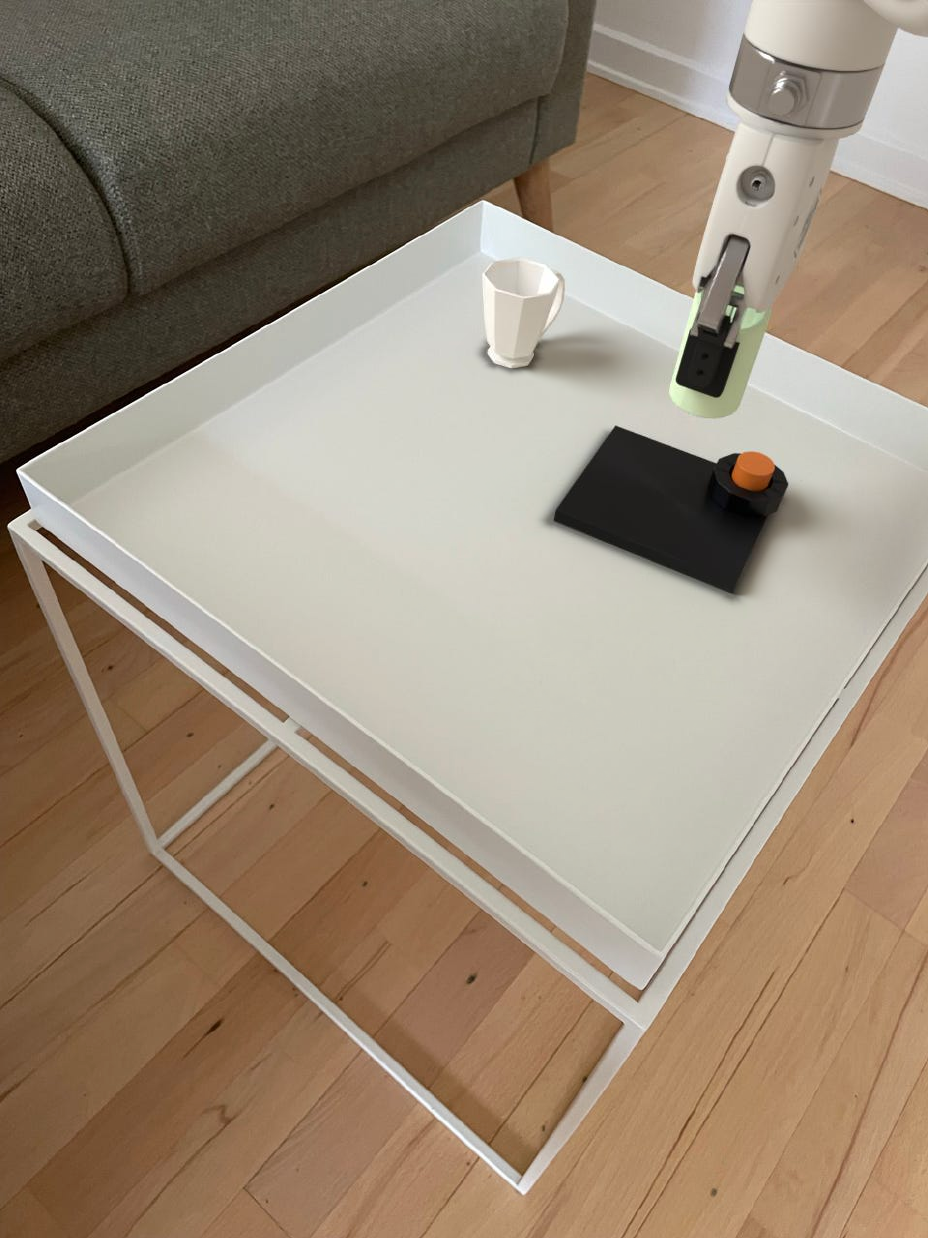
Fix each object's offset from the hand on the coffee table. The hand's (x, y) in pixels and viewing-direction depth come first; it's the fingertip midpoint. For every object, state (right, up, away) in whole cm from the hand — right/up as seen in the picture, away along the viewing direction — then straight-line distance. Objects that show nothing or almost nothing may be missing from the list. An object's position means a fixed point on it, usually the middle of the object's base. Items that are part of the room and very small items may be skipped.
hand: (710, 368), depth 66 cm
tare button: (+7, -6, +13) cm, 16 cm away
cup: (-11, +9, +28) cm, 31 cm away
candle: (0, -2, +2) cm, 3 cm away
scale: (0, -8, +14) cm, 16 cm away
